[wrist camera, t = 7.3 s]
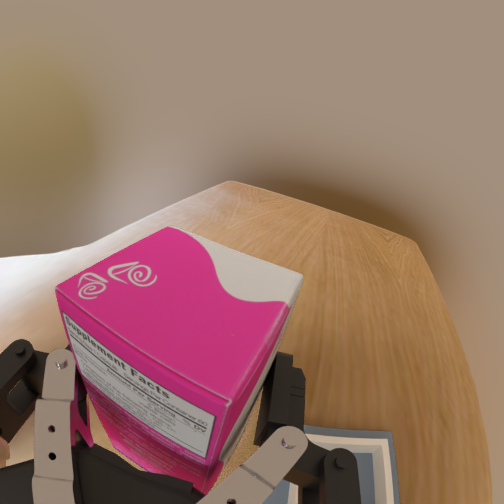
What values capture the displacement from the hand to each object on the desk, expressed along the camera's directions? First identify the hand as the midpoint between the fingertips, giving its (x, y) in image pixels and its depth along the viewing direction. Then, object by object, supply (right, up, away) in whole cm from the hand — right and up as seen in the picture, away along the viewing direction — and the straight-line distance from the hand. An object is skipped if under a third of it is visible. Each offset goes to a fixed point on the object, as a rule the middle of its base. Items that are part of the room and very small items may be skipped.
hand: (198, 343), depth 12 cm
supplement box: (-2, -7, +1) cm, 7 cm away
